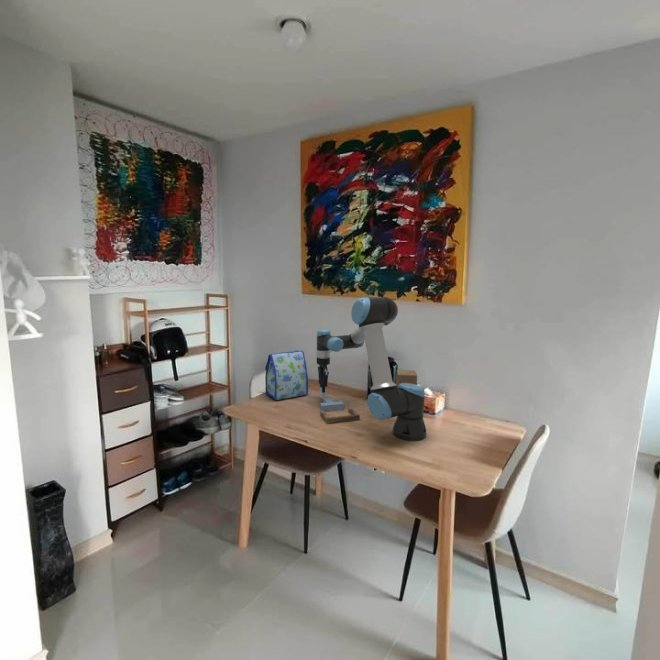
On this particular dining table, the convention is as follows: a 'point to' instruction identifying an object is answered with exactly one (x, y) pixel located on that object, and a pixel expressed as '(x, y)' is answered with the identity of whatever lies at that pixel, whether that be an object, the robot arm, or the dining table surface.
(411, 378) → the wooden block
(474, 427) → the dining table surface
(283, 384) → the lunch bag
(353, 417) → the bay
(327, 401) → the tee
